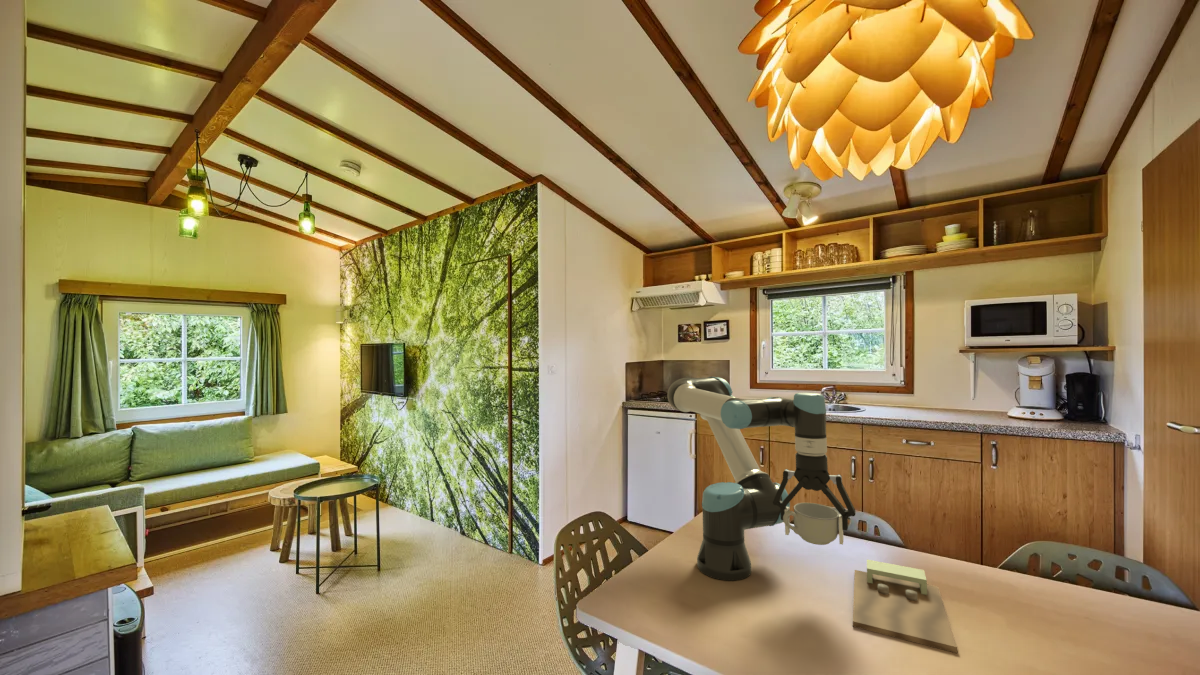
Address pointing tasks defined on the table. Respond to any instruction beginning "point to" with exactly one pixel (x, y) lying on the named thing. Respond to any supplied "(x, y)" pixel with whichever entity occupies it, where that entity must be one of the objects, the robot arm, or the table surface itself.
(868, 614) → the board
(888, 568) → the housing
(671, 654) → the table surface
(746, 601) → the table surface
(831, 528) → the teacup
